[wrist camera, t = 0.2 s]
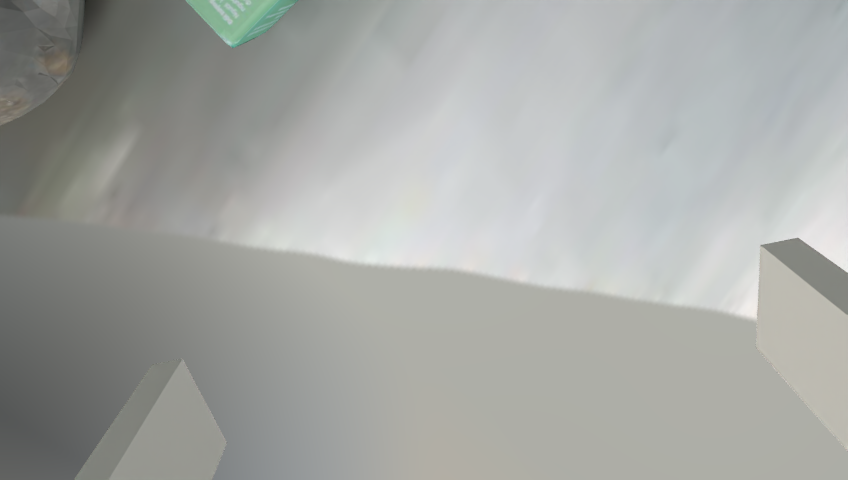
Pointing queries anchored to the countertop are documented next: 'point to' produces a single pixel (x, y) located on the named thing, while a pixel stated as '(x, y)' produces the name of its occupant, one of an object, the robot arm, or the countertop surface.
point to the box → (241, 17)
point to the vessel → (36, 51)
